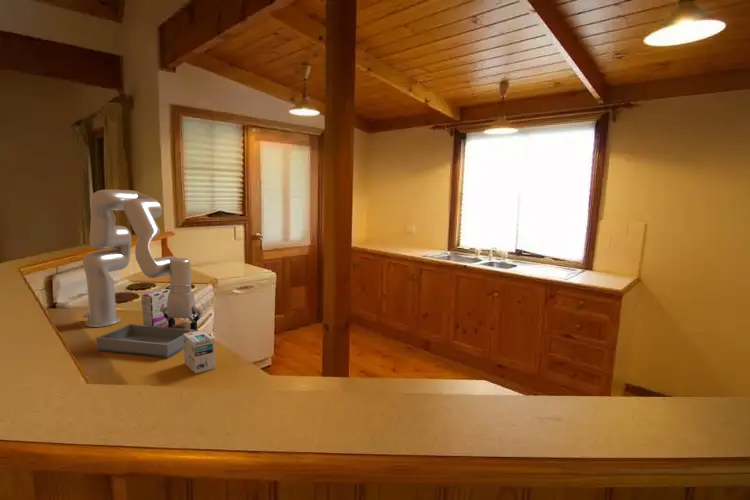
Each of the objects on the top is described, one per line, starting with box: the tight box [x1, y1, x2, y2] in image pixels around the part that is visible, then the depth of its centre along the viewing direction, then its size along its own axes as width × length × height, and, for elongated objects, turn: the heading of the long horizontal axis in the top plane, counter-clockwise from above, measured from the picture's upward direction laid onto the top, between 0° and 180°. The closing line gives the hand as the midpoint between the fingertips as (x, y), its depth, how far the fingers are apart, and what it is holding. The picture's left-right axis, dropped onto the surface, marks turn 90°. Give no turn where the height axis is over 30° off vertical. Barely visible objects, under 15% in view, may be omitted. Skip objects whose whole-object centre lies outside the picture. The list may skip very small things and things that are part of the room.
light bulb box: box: [183, 329, 216, 374], centre depth 131 cm, size 11×7×11 cm, turn 44°
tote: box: [96, 323, 196, 360], centre depth 146 cm, size 28×16×5 cm, turn 81°
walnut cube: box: [172, 321, 191, 329], centre depth 158 cm, size 5×5×5 cm
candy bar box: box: [141, 288, 171, 327], centre depth 163 cm, size 11×5×16 cm, turn 168°
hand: (182, 330), depth 158 cm, fingers open, 9 cm apart
